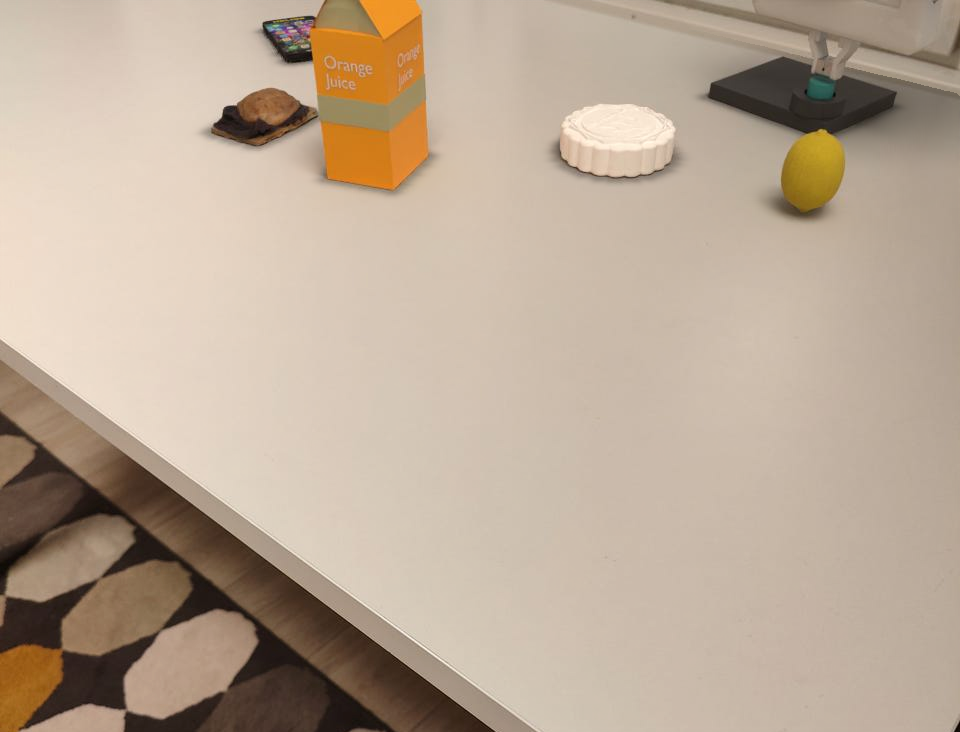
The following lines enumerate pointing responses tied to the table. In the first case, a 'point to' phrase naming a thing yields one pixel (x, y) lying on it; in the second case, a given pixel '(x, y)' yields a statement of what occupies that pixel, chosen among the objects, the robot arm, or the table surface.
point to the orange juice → (370, 89)
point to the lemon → (813, 170)
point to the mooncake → (617, 140)
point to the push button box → (800, 96)
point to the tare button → (821, 87)
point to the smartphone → (291, 36)
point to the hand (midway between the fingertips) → (826, 76)
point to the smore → (262, 116)
